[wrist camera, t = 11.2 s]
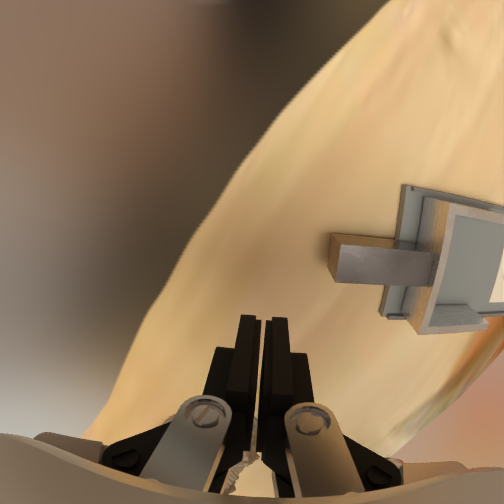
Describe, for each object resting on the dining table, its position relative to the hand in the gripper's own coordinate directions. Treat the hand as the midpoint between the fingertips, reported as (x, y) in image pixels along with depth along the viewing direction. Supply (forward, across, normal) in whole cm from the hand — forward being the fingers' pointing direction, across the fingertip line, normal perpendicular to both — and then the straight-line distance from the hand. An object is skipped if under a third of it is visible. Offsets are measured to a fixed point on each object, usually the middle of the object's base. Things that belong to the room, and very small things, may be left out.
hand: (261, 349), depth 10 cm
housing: (+15, -14, 0) cm, 21 cm away
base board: (+16, -25, 0) cm, 30 cm away
